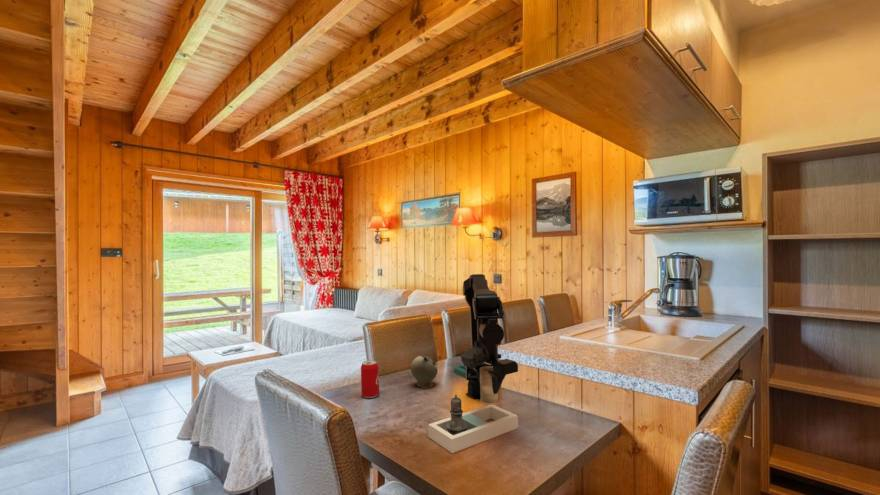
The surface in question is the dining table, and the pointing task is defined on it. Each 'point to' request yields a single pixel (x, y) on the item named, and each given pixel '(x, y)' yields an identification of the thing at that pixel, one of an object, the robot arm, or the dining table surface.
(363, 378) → the beverage can
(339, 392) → the dining table surface
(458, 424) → the salt shaker
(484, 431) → the housing
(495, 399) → the wooden peg
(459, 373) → the bracket
